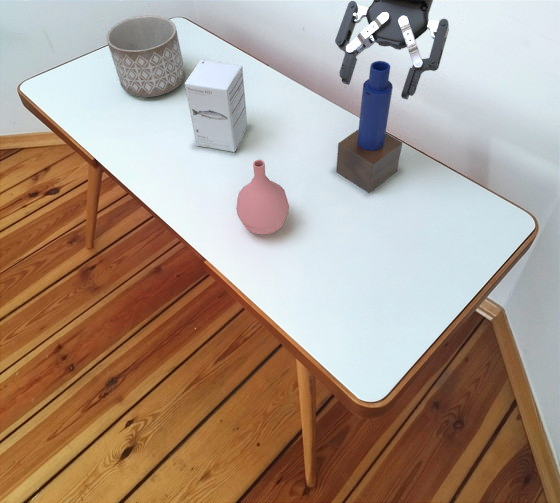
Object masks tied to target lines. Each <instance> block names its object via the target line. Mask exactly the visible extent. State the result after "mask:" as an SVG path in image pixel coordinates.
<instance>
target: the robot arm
mask: <svg viewBox="0 0 560 503" xmlns="http://www.w3.org/2000/svg"><path fill="white" fill-rule="evenodd" d="M433 3H434V0H373V1H372V3H371V4H370V5H369V6H368V7H367V6H362V5H359V4H357V2H356V1H355V0H351V1H349V2H348V3H347V5H346V8H345V11H344V14H343V18H342V20H341V23H340V26H339V28H338V31H337V34H336V37H335V40H334V43H335V44H336V46H337V47H338V49H339V50H340V51H343V52H344V56H343V60H342V64H341V66H340V69H339V77H340V79H341V82H342V83H343V84H344V85H347V86H349V85H350V84H351V81H352V78H353V74H354V71H355V69H356V65H357V62H358V56H359V55H360V54H362V53H363V52H364V51H365V50H367V49H369V48H371V47H372V46H373V45H374V44H375V43H376V44H378V46H379V47H380V46H381V47H391V48H393V49H394V50H398V51H401V50H403V49H407V50H408V54H409V56H410V59H411V62H412V66H411V67H409V68H408V72H407V75H406V78H405V82H404V85H403V88H402V90H401V94H400V97H401V99H404V100H409V97H410V96H411V97H413V96H414V95H415V94H416V91H417V88H418V85H419V82H420V79H421V76H422V74H423V73H424V72H427V71H431V72H437V71H438V69H439V68H440V64H441V60H442V56H443V53H444V49H445V45H446V42H447V39H448V34H449V31H450V25H449V20H448V19H446V18H441V19H440V20H434V19H429V15H430V11H431V8H432V4H433ZM364 18H366V20H367V24H368V25H367V26H366V27H365V28H364V29H362V30H361V31H360V32H359V33H358V34H357V36H356V37H355V38H353V40H351V38H352V35H353V32H354V31H355V27H356V25H357V24H360V23H361V21H362V20H363V19H364ZM427 31H430V37H431V39H433V43H432V46H431V49H430V53H429V57H428V58H427V57H425V58H422V55H421V52H420V49H419V47H418V44H417V39H418V38H420V37H421V36H422V35H423V34H424V33H425V32H427Z"/></svg>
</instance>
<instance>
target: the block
mask: <svg viewBox="0 0 560 503" xmlns="http://www.w3.org/2000/svg"><path fill="white" fill-rule="evenodd" d="M357 141H358V129H357V130H355V131H354V132H352V133H350V134H349V135H348V136H347V137H345V138H344V139H342V140H341V141H339V142H338V143H337V156H336V168H335V169H336V173H337V174H339V175H341V176H342V177H344V178H345V179H347V180H348V181H349V182H351V183H353V184H354V185H356V186H357V187H359V188H360V189H362V190H363V191H365V192H366V193H368V194H370V193H371V192H373V191H374V190H375V189H376V188H378V187H379V186H380V185H382V184H383V183H384V182H385V181H387V180H388V179H389V178H390V177H392V176H393V175H394V174H396V173H397V172H398V169H399V163H400V159H401V153H402V148H403V141H401V140H399V139H397V138H396V137H394V136H392V135H391V134H388V133H387V132H386V133H385V139H384V144H383V146H382V147H381V148H380V149H378V150H375V151H368V150H364V149H362V148H361V147H360V146H359V145H358V142H357Z"/></svg>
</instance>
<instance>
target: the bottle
mask: <svg viewBox="0 0 560 503" xmlns="http://www.w3.org/2000/svg"><path fill="white" fill-rule="evenodd" d="M390 73H391V64H390V63H388V62H387V61H383V60H376V61H374V62H372V63H370V66H369V76H368V79H367V80H365V81H364V83H363V84H362V93H361V102H360V113H359V120H358V121H359V122H358V129H357V130H358V141H357V142H358V145H359V146H360V147H361V148H362V149H364V150H368V151H375V150H378V149H380V148H381V147H382V146H383V144H384V139H385V133H387V126H388V120H389V115H390V114H389V113H390V106H391V102H392V101H391V100H392V95H393V89H394V86H393V84H392V82H391V81H390Z"/></svg>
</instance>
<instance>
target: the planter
mask: <svg viewBox="0 0 560 503" xmlns="http://www.w3.org/2000/svg"><path fill="white" fill-rule="evenodd" d="M105 37H106V38H105V40H106V43H107V46H108V49H109V52H110V55H111V58H112V61H113V65H114V68H115V71H116V75H117V77H118V81H119V84H120V87H121V88H122V89H123V90H124V91H125V92H127V93H128V94H130V95H133V96H136V97H141V98H150V97H157V96H162V95H165V94H168V93H170V92H172V91H174V90H176V89H177V88H179V86H181V84H182V83H183V82H184V80H185V76H186V71H185V70H186V69H185V64H184V60H183V55H182V49H181V45H180V42H179V40H180V39H179V35H178V30H177V26H176V24H175V23H174V22H173V21H172V20H171V19H169V18H167V17H165V16H161V15H154V14H152V15H151V14H149V15H148V14H147V15H144V14H143V15H137V16H132V17H129V18H126V19H123V20H121V21H119V22H117V23H115V24H114V25H113V26H111V27H110V29H109V30H108V31H107V33H106V36H105Z"/></svg>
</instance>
